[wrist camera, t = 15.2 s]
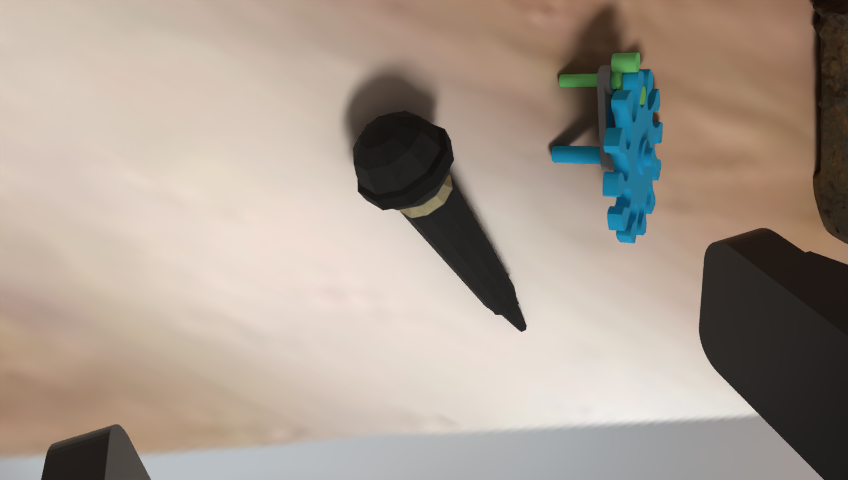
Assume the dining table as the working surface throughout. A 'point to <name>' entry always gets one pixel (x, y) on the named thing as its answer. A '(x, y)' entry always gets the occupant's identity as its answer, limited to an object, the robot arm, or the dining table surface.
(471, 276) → the microphone
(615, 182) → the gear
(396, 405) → the dining table surface
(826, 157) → the dark brown rod
